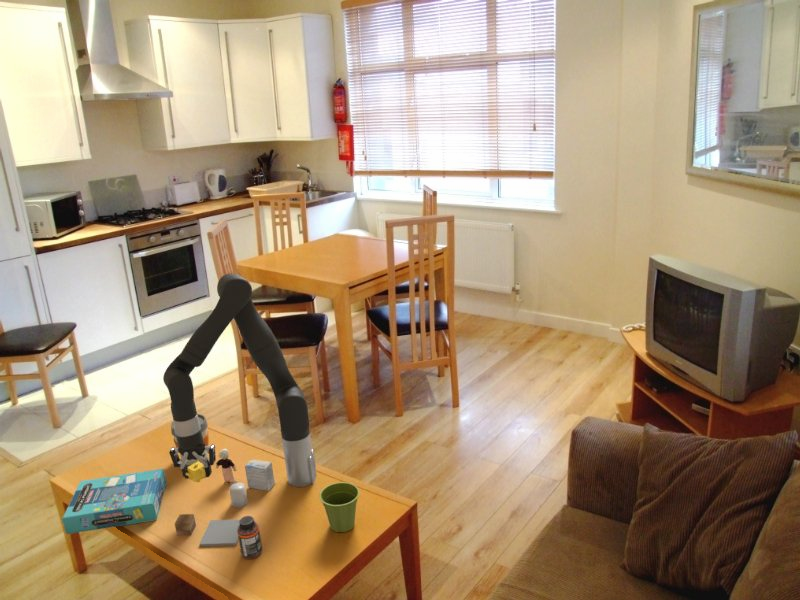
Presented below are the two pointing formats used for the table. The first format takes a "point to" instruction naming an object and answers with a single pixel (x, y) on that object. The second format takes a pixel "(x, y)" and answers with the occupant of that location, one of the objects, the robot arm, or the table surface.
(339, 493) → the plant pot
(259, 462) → the medicine box
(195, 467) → the teapot
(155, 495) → the game box
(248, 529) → the supplement bottle
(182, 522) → the walnut cube
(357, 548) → the table surface
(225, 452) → the grandmother figurine
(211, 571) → the table surface
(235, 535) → the slate mat
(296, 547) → the table surface
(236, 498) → the white rounded cylinder
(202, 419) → the reusable coffee cup
